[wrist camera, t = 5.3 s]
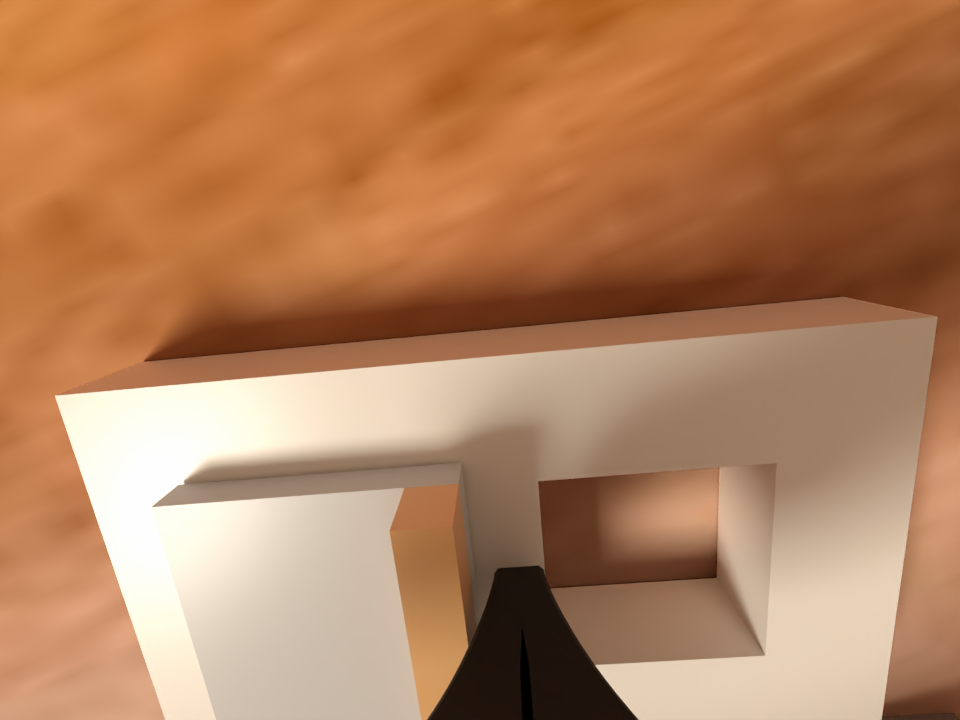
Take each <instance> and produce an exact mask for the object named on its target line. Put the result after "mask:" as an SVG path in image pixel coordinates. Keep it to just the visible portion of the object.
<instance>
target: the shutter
mask: <svg viewBox="0 0 960 720" xmlns="http://www.w3.org/2000/svg"><path fill="white" fill-rule="evenodd" d="M151 509H152V512H153V515H154V519H155V522H156V525H157V528H158V532H159V535H160V538H161V541H162V545H163V548H164V551H165V554H166V558H167V561H168V564H169V567H170V571H171V574H172V577H173V580H174V584H175V587H176V590H177V594H178V597H179V600H180V603H181V607H182V610H183V613H184V616H185V620H186V623H187V626H188V629H189V633H190V636H191V639H192V642H193V646H194V649H195V652H196V655H197V659H198V662H199V665H200V669H201V672H202V675H203V678H204V682H205V685H206V688H207V691H208V695H209V698H210V701H211V704H212V708H213V711H214V714H215V717H216V720H427V719H428V717H429V716H430V714H431V713H432V711H433V710H434V708H435V707H436V705H437V704H438V702H439V701H440V699H441V697H442V696H443V694H444V692H445V691H446V689H447V687H448V686H449V684H450V682H451V680H452V678H453V677H454V675H455V673H456V671H457V669H458V667H459V665H460V663H461V661H462V659H463V657H464V655H465V653H466V651H467V649H468V647H469V645H470V643H471V641H472V638H473V636H474V634H475V632H476V629H477V627H478V624H479V622H480V619H481V618H480V610H479V601H478V593H477V585H476V577H475V568H474V560H473V552H472V544H471V535H470V527H469V519H468V511H467V502H466V494H465V486H464V478H463V469H462V463H450V464H437V465H424V466H411V467H399V468H386V469H373V470H360V471H348V472H335V473H322V474H309V475H297V476H284V477H271V478H258V479H246V480H233V481H220V482H207V483H195V484H182V485H177V486H176V487H175V488H174V489H172V490H171V491H170V492H169V493H168V494H166V495H165V496H164V497H163V498H162V499H160V500H159V501H158V502H157V503H155V504H154V505H153V506H152V507H151Z"/></svg>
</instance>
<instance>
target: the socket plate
mask: <svg viewBox="0 0 960 720" xmlns="http://www.w3.org/2000/svg"><path fill="white" fill-rule="evenodd" d="M937 319H938V316H934V315H929V314H924V313H919V312H915V311H910V310H905V309H900V308H895V307H891V306H886V305H881V304H876V303H871V302H866V301H862V300H857V299H852V298H847V297H836V298H825V299H814V300H803V301H793V302H782V303H771V304H760V305H750V306H739V307H728V308H717V309H706V310H696V311H685V312H674V313H663V314H653V315H642V316H631V317H620V318H610V319H599V320H588V321H577V322H567V323H556V324H545V325H534V326H524V327H513V328H502V329H491V330H480V331H470V332H459V333H448V334H437V335H427V336H416V337H405V338H394V339H384V340H373V341H362V342H351V343H341V344H330V345H319V346H308V347H298V348H287V349H276V350H265V351H254V352H244V353H233V354H222V355H211V356H201V357H190V358H179V359H168V360H158V361H147V362H140V363H138V364H135V365H133V366H130V367H128V368H125V369H122V370H120V371H117V372H115V373H112V374H110V375H107V376H104V377H102V378H99V379H97V380H94V381H92V382H89V383H86V384H84V385H81V386H79V387H76V388H74V389H71V390H68V391H66V392H63V393H61V394H58V395H56V396H55V397H56V400H57V403H58V406H59V409H60V412H61V415H62V418H63V421H64V424H65V427H66V430H67V433H68V436H69V438H70V441H71V444H72V447H73V450H74V453H75V456H76V459H77V462H78V465H79V468H80V471H81V474H82V477H83V480H84V482H85V485H86V488H87V491H88V494H89V497H90V500H91V503H92V506H93V509H94V512H95V515H96V518H97V521H98V524H99V526H100V529H101V532H102V535H103V538H104V541H105V544H106V547H107V550H108V553H109V556H110V559H111V562H112V565H113V568H114V570H115V573H116V576H117V579H118V582H119V585H120V588H121V591H122V594H123V597H124V600H125V603H126V606H127V609H128V612H129V614H130V617H131V620H132V623H133V626H134V629H135V632H136V635H137V638H138V641H139V644H140V647H141V650H142V653H143V656H144V658H145V661H146V664H147V667H148V670H149V673H150V676H151V679H152V682H153V685H154V688H155V691H156V694H157V697H158V700H159V703H160V705H161V708H162V711H163V714H164V717H165V720H216V717H215V714H214V711H213V708H212V704H211V701H210V698H209V695H208V691H207V688H206V685H205V682H204V678H203V675H202V672H201V669H200V665H199V662H198V659H197V655H196V652H195V649H194V646H193V642H192V639H191V636H190V633H189V629H188V626H187V623H186V620H185V616H184V613H183V610H182V607H181V603H180V600H179V597H178V594H177V590H176V587H175V584H174V580H173V577H172V574H171V571H170V567H169V564H168V561H167V558H166V554H165V551H164V548H163V545H162V541H161V538H160V535H159V532H158V528H157V525H156V522H155V519H154V515H153V512H152V509H151V507H152V506H153V505H154V504H155V503H157V502H158V501H159V500H160V499H162V498H163V497H164V496H165V495H166V494H168V493H169V492H170V491H171V490H172V489H174V488H175V487H176V486H177V485H182V484H195V483H207V482H220V481H233V480H246V479H258V478H271V477H284V476H297V475H309V474H322V473H335V472H348V471H360V470H373V469H386V468H399V467H411V466H424V465H437V464H450V463H462V469H463V478H464V486H465V494H466V502H467V511H468V519H469V527H470V535H471V544H472V552H473V560H474V568H475V577H476V585H477V593H478V601H479V610H480V618H481V617H482V614H483V612H484V609H485V606H486V603H487V600H488V597H489V594H490V591H491V587H492V583H493V579H494V573H495V571H496V570H497V569H498V568H508V567H523V566H538V565H539V566H540V567H541V568H543V569H544V573H545V564H544V551H543V538H542V525H541V513H540V500H539V487H538V481H548V480H561V479H575V478H588V477H601V476H614V475H628V474H641V473H654V472H667V471H680V470H694V469H707V468H720V470H719V508H718V546H717V578H707V579H691V580H676V581H660V582H644V583H629V584H613V585H597V586H582V587H566V588H550V589H551V591H552V594H553V596H554V598H555V600H556V602H557V604H558V606H559V608H560V610H561V611H562V613H563V615H564V617H565V619H566V620H567V622H568V624H569V625H570V627H571V629H572V631H573V632H574V634H575V636H576V637H577V639H578V640H579V642H580V644H581V645H582V647H583V648H584V650H585V651H586V653H587V654H588V656H589V657H590V659H591V660H592V662H593V663H594V664H595V666H596V667H597V669H598V670H599V671H600V673H601V674H602V675H603V677H604V678H605V679H606V681H607V682H608V683H609V685H610V686H611V687H612V688H613V690H614V691H615V692H616V693H617V695H618V696H619V697H620V698H621V700H622V701H623V702H624V703H625V704H626V705H627V707H628V708H629V709H630V710H631V711H632V713H633V714H634V715H635V716H636V717H637V718H638V719H639V720H882V713H883V706H884V699H885V691H886V684H887V677H888V670H889V663H890V656H891V649H892V641H893V634H894V627H895V620H896V613H897V606H898V598H899V591H900V584H901V577H902V570H903V563H904V555H905V548H906V541H907V534H908V527H909V520H910V513H911V505H912V498H913V491H914V484H915V477H916V470H917V462H918V455H919V448H920V441H921V434H922V427H923V419H924V412H925V405H926V398H927V391H928V384H929V377H930V369H931V362H932V355H933V348H934V341H935V334H936V326H937Z"/></svg>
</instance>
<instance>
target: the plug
mask: <svg viewBox="0 0 960 720" xmlns="http://www.w3.org/2000/svg"><path fill="white" fill-rule="evenodd" d="M882 720H960V719H959V718H958V717H957V716H956V715H955V714H954V713H949V714H929V715H908V716H887V717H882Z"/></svg>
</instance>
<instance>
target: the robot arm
mask: <svg viewBox="0 0 960 720" xmlns="http://www.w3.org/2000/svg"><path fill="white" fill-rule="evenodd" d="M427 720H639V719H638V718H637V717H636V716H635V715H634V714H633V713H632V711H631V710H630V709H629V708H628V707H627V705H626V704H625V703H624V702H623V701H622V700H621V698H620V697H619V696H618V695H617V693H616V692H615V691H614V690H613V688H612V687H611V686H610V685H609V683H608V682H607V681H606V679H605V678H604V677H603V675H602V674H601V673H600V671H599V670H598V669H597V667H596V666H595V664H594V663H593V662H592V660H591V659H590V657H589V656H588V654H587V653H586V651H585V650H584V648H583V647H582V645H581V644H580V642H579V640H578V639H577V637H576V636H575V634H574V632H573V631H572V629H571V627H570V625H569V624H568V622H567V620H566V619H565V617H564V615H563V613H562V611H561V610H560V608H559V606H558V604H557V602H556V600H555V598H554V596H553V594H552V591H551V589H550V587H549V584H548V582H547V579H546V576H545V573H544V569H543V568H541V567H540V566H539V565H538V566H523V567H508V568H498V569H497V570H496V571H495V573H494V579H493V583H492V587H491V591H490V594H489V597H488V600H487V603H486V606H485V609H484V612H483V614H482V617H481V619H480V622H479V624H478V627H477V629H476V632H475V634H474V636H473V638H472V641H471V643H470V645H469V647H468V649H467V651H466V653H465V655H464V657H463V659H462V661H461V663H460V665H459V667H458V669H457V671H456V673H455V675H454V677H453V678H452V680H451V682H450V684H449V686H448V687H447V689H446V691H445V692H444V694H443V696H442V697H441V699H440V701H439V702H438V704H437V705H436V707H435V708H434V710H433V711H432V713H431V714H430V716H429V717H428V719H427Z"/></svg>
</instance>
